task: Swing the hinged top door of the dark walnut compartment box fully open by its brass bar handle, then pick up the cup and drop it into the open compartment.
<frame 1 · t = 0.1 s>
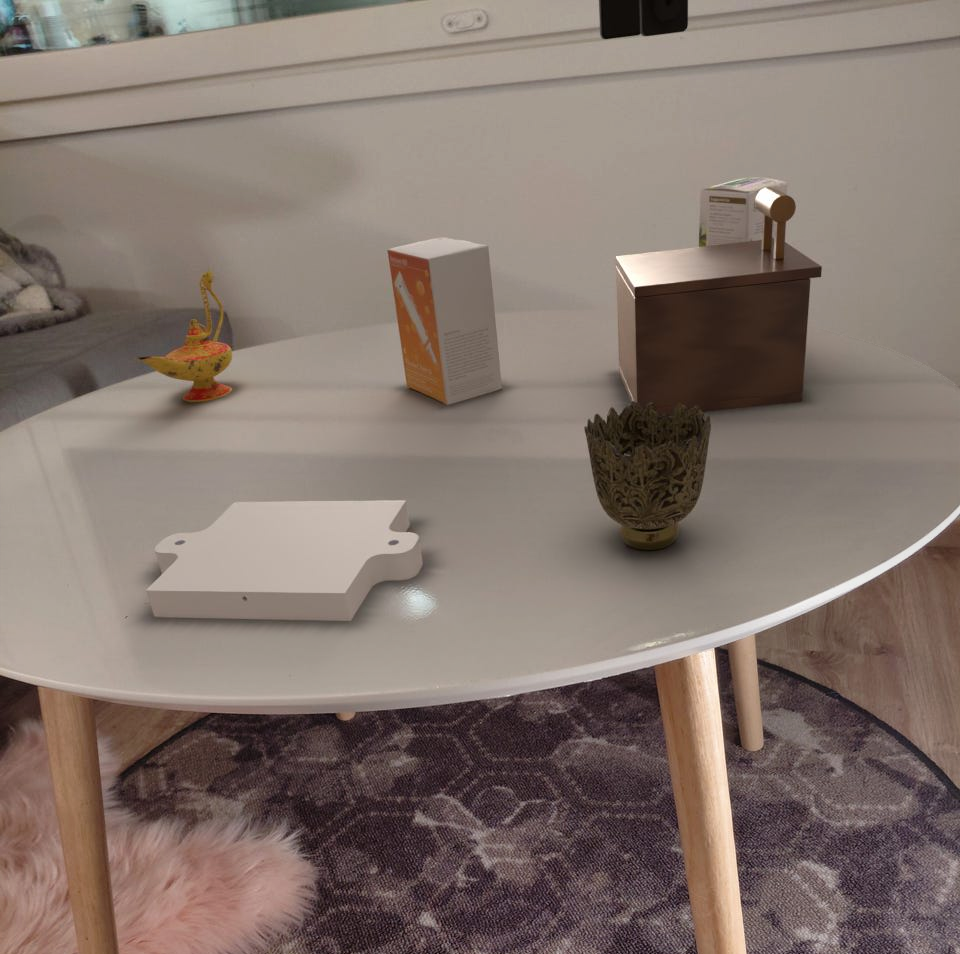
hand: (641, 35, 70), 27 cm above the table, tool pointing down, fingers open, 9 cm apart
magic lamp: (200, 401, 100), on the table
small box: (454, 391, 94), on the table
lid: (711, 235, 80), point 13 cm above the table, hinge at 0.0°
mounting plate: (290, 571, 64), on the table
syrup box: (737, 343, 97), on the table
compartment: (704, 387, 86), on the table
cup: (649, 543, 62), on the table
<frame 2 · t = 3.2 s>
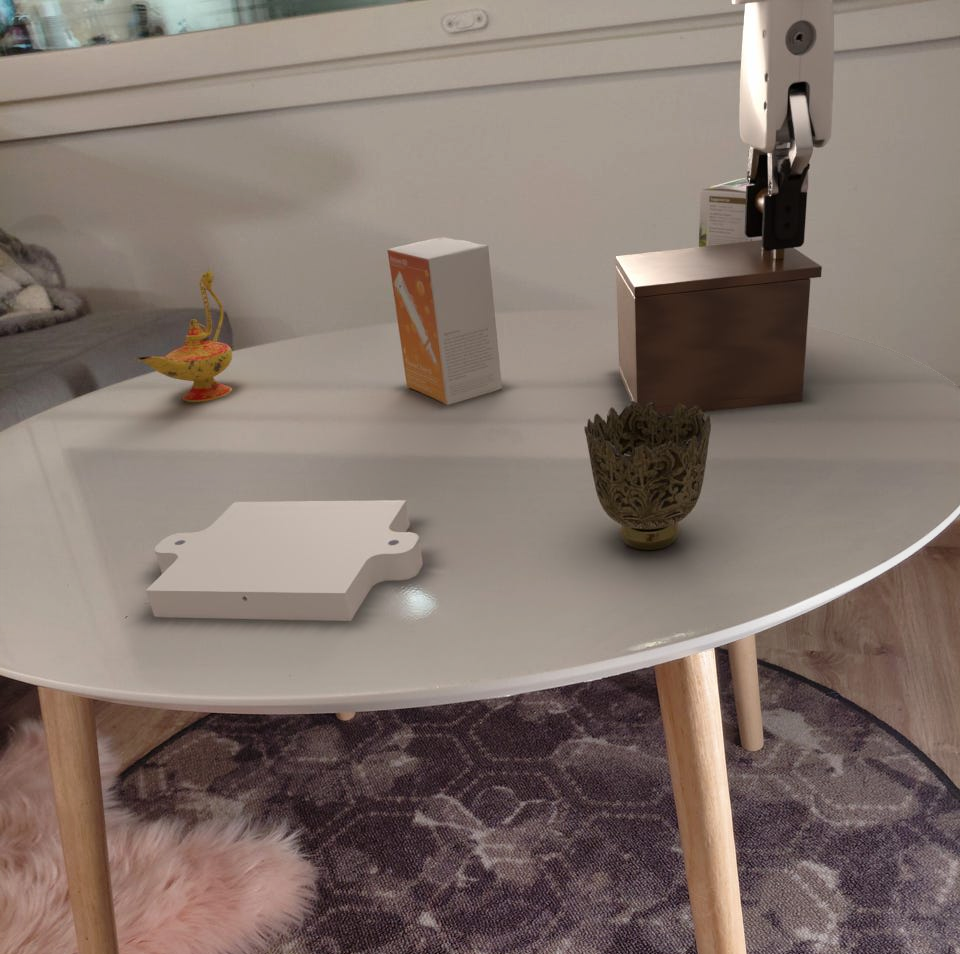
hand: (773, 239, 80), 12 cm above the table, tool pointing down, fingers closed on lid, 5 cm apart
lid: (711, 235, 80), point 13 cm above the table, hinge at 0.0°, touching gripper
everything else where it was.
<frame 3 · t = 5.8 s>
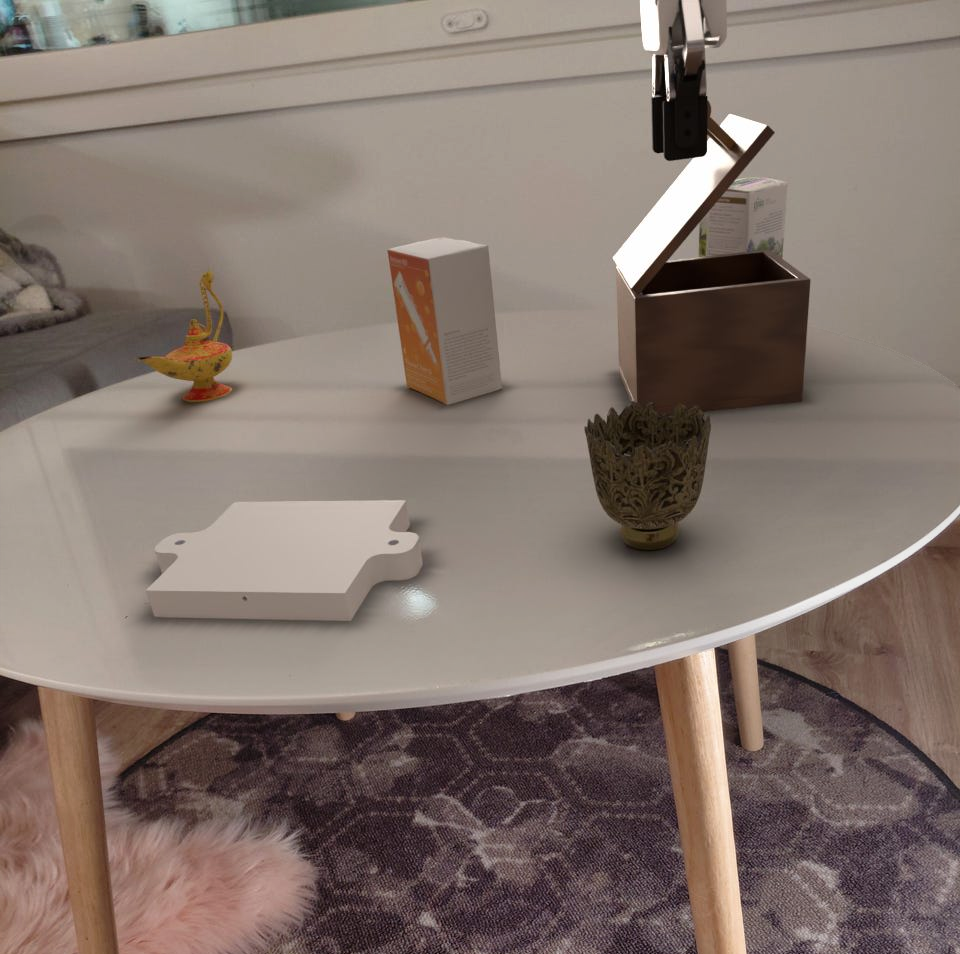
hand: (678, 151, 76), 19 cm above the table, tool pointing down, fingers closed on lid, 5 cm apart
lid: (663, 181, 77), point 17 cm above the table, hinge at 45.8°, touching gripper
everything else where it was.
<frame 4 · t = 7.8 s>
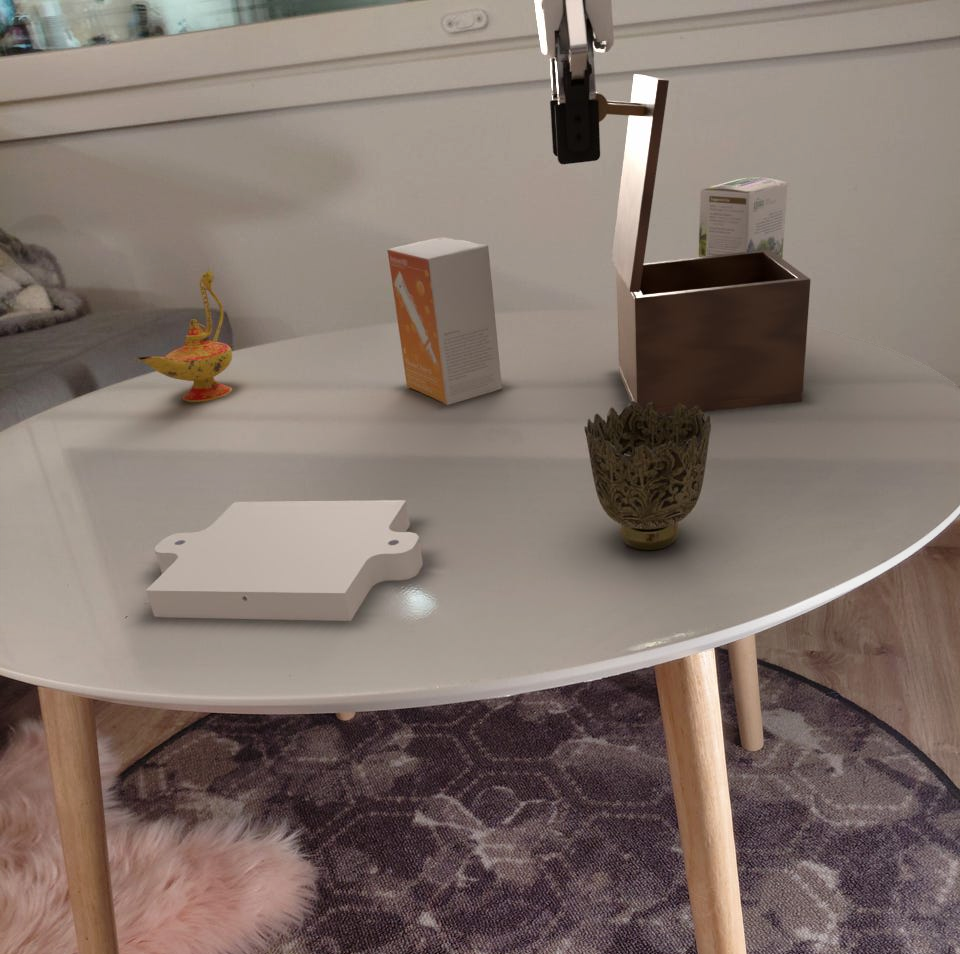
hand: (575, 155, 76), 20 cm above the table, tool pointing down, fingers closed on lid, 5 cm apart
lid: (606, 179, 77), point 18 cm above the table, hinge at 80.6°, touching gripper
everything else where it was.
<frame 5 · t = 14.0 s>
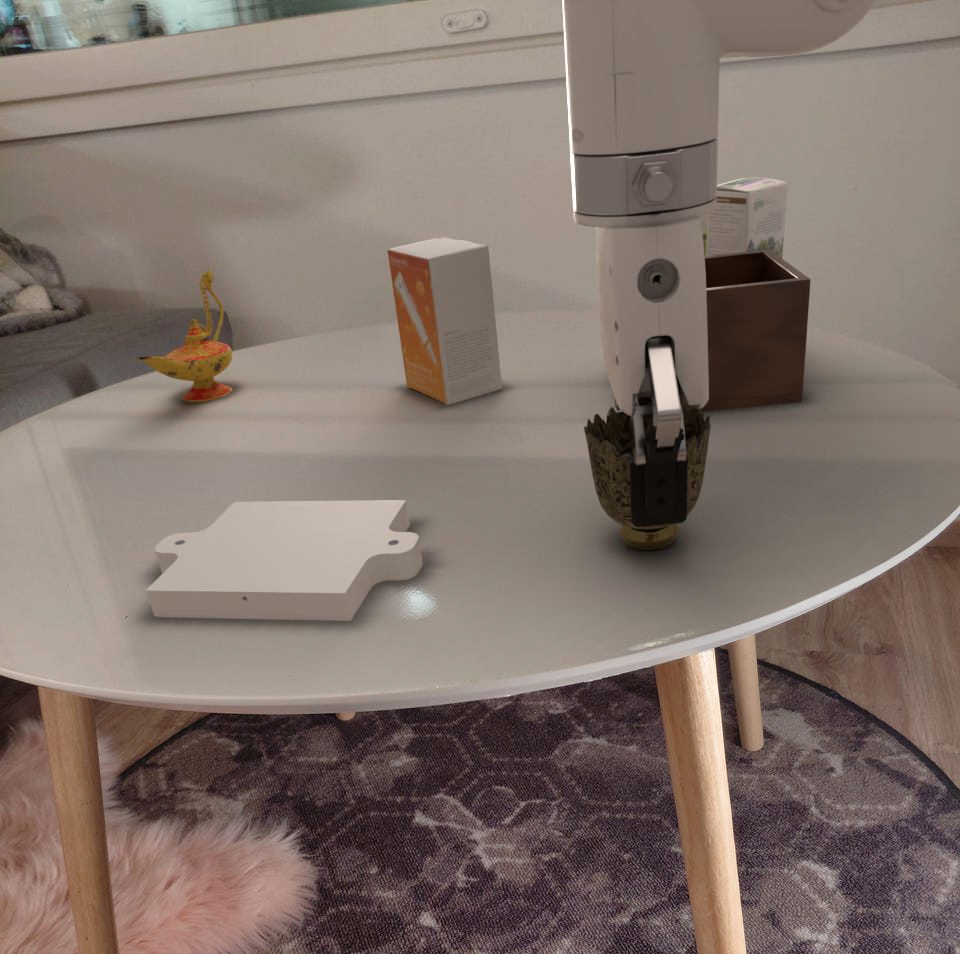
hand: (648, 493, 60), 3 cm above the table, tool pointing down, fingers closed on cup, 7 cm apart
lid: (606, 179, 77), point 18 cm above the table, hinge at 81.0°
cup: (649, 543, 62), on the table, touching gripper
everything else where it was.
when the fingers open (10 cm above the table, at t = 25.2 s): cup drops 6 cm, resting on compartment.
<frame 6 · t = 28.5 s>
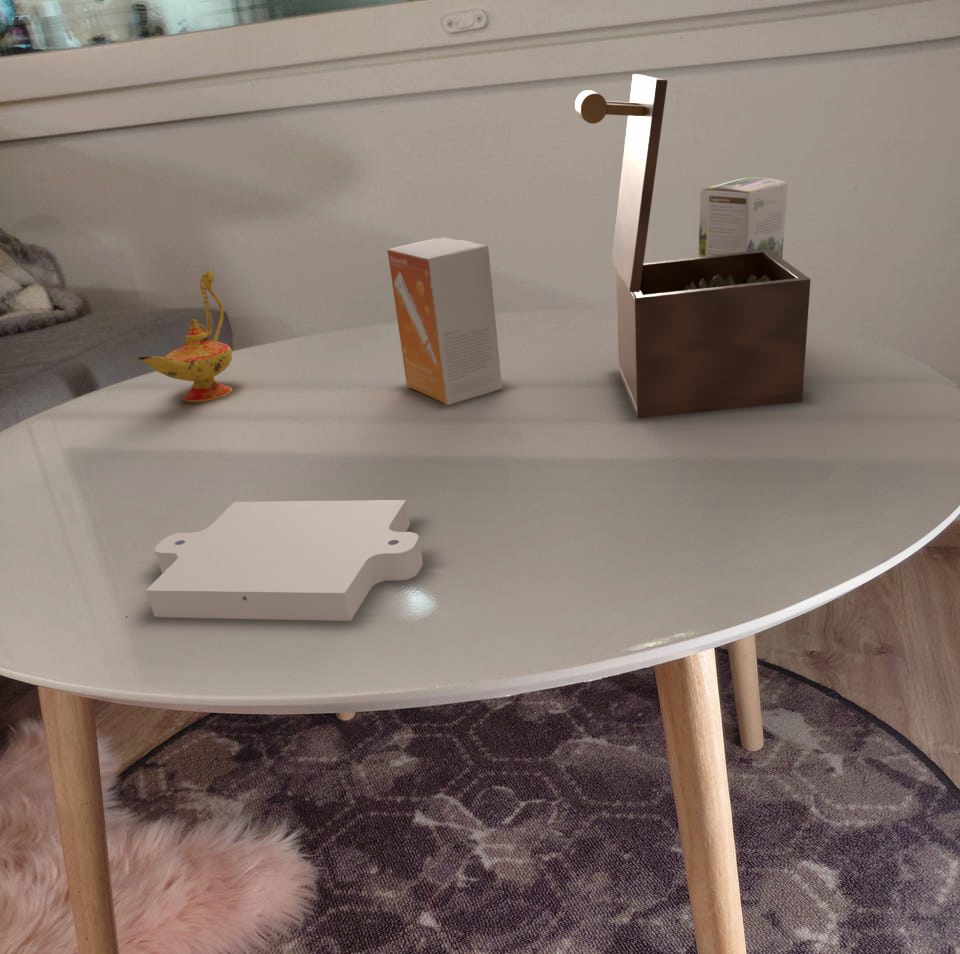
cup: (728, 380, 85), point 1 cm above the table, touching compartment
everything else where it was.
at the end: lid at +81° (first picture: +0°); cup inside the target area in the compartment (2.0 cm from its centre), point 0.6 cm above the compartment's base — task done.
